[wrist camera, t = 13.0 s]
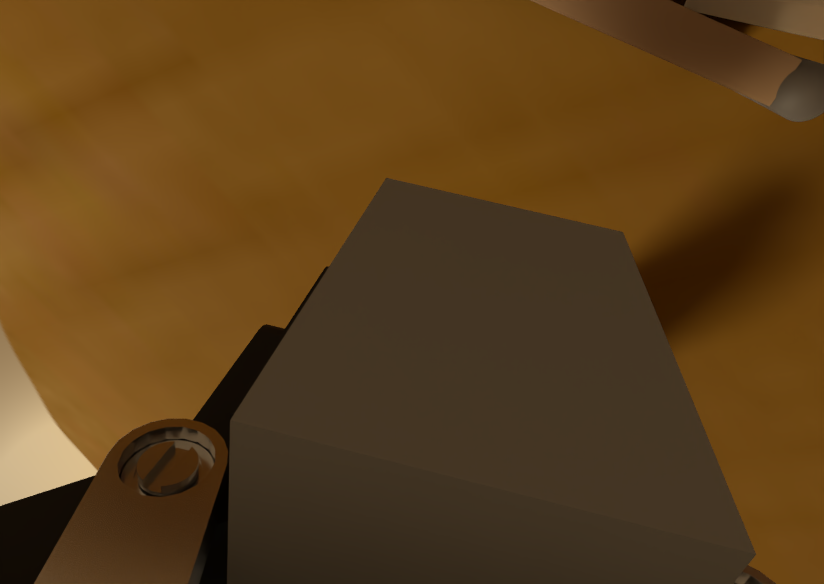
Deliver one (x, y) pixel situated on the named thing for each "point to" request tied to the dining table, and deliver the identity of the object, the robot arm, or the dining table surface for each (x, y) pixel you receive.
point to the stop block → (476, 416)
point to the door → (707, 51)
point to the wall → (769, 14)
